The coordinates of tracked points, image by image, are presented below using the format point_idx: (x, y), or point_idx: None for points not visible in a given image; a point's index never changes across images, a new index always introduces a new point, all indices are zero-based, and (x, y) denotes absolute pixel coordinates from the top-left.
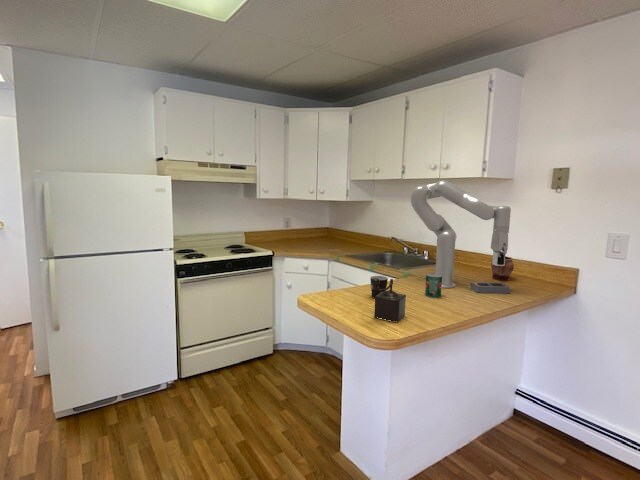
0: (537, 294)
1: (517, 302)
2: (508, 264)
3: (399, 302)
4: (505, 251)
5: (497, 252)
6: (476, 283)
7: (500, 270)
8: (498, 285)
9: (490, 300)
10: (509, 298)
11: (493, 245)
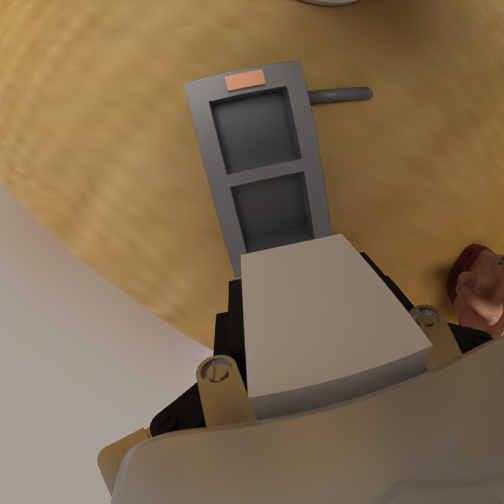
0: None
1: (98, 260)
2: None
3: None
4: (110, 477)
5: (277, 405)
6: (247, 83)
7: (459, 286)
8: (310, 229)
9: (78, 150)
10: (144, 241)
11: (464, 474)
